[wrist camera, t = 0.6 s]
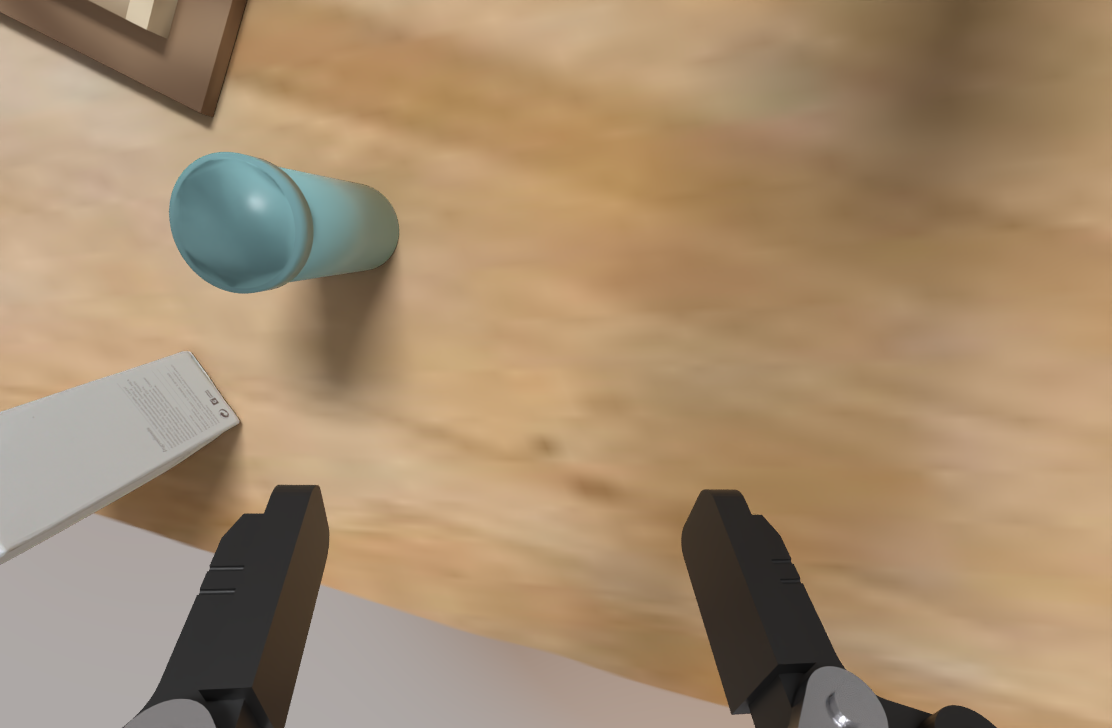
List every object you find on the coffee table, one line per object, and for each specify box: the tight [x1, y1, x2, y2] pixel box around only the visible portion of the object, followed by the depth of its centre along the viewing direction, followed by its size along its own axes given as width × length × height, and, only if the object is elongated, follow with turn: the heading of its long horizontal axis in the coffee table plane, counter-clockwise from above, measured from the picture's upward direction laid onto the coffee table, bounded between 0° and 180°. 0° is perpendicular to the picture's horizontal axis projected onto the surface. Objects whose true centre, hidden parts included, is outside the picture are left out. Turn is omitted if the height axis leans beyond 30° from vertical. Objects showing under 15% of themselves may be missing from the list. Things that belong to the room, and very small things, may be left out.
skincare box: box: [0, 351, 239, 565], centre depth 29 cm, size 8×6×15 cm
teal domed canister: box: [169, 152, 399, 293], centre depth 27 cm, size 5×5×11 cm
